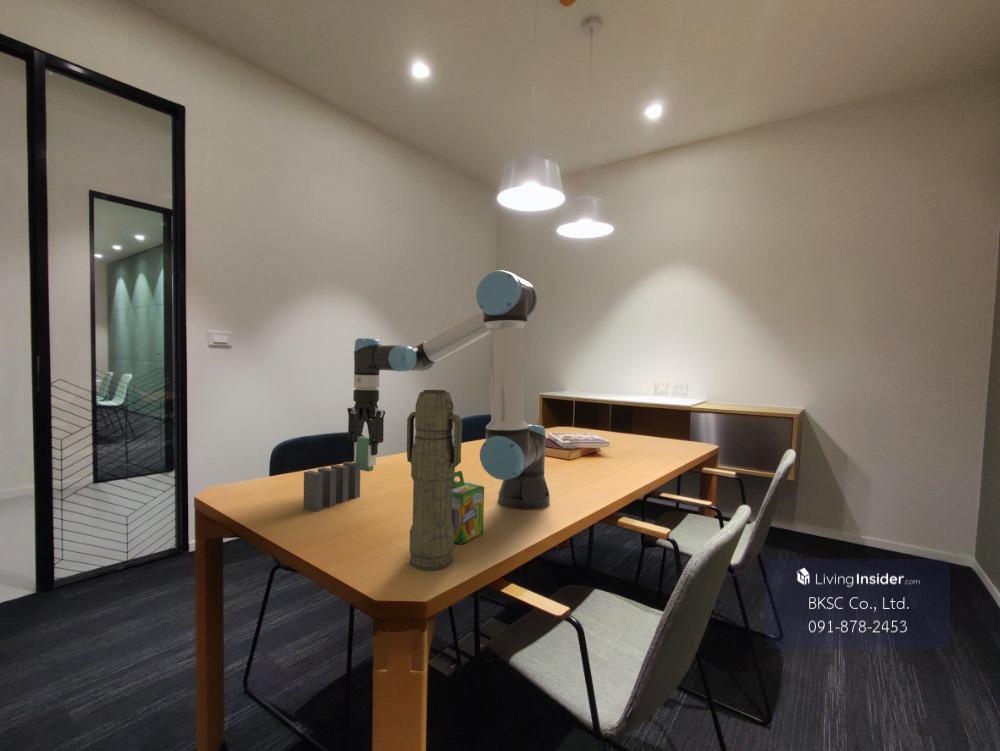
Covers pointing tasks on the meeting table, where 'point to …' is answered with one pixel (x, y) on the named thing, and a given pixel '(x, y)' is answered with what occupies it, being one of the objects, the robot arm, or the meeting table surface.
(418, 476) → the thermos
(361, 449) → the green domino
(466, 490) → the chalk box
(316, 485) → the domino
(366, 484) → the meeting table surface
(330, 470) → the domino
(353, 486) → the domino
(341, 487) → the domino
